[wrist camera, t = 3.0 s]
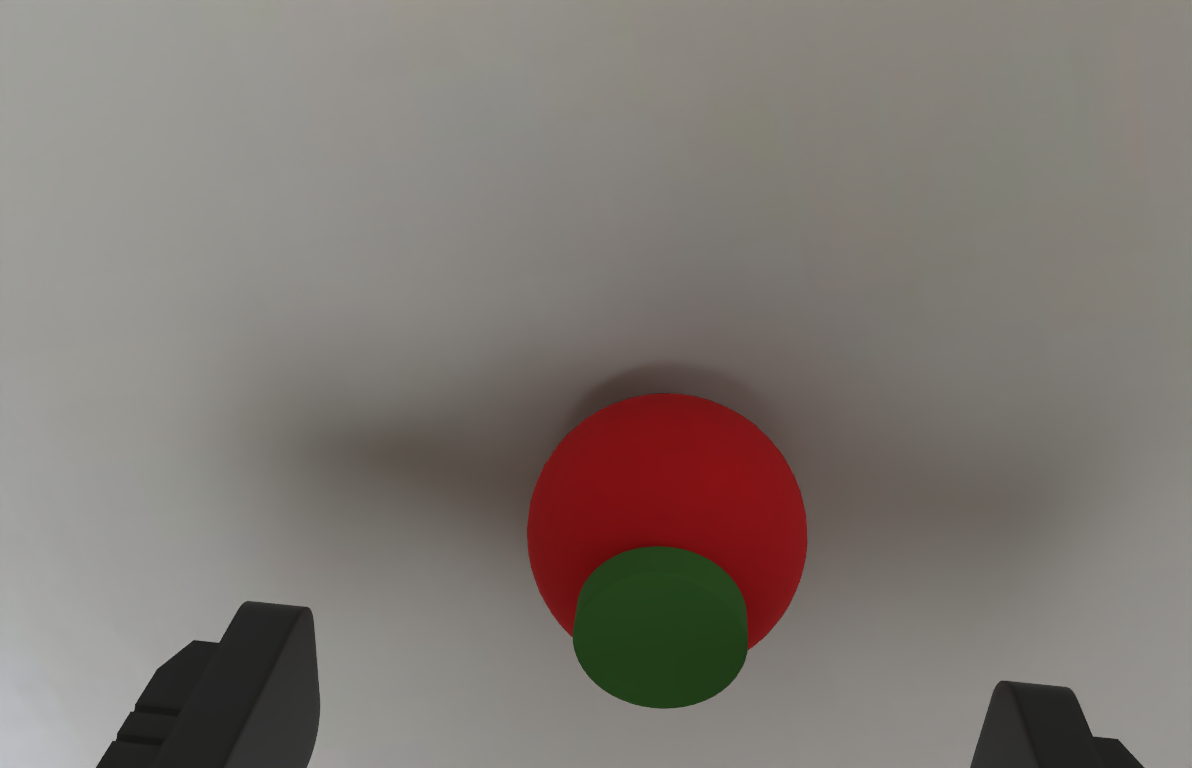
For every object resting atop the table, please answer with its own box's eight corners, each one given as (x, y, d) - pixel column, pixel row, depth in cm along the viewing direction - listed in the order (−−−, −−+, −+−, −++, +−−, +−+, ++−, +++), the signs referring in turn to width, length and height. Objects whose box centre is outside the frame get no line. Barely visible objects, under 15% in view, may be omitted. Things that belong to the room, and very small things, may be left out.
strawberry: (814, 358, 17) (846, 530, 13) (779, 571, 19) (797, 776, 15) (550, 335, 17) (504, 496, 13) (542, 546, 19) (498, 743, 15)
